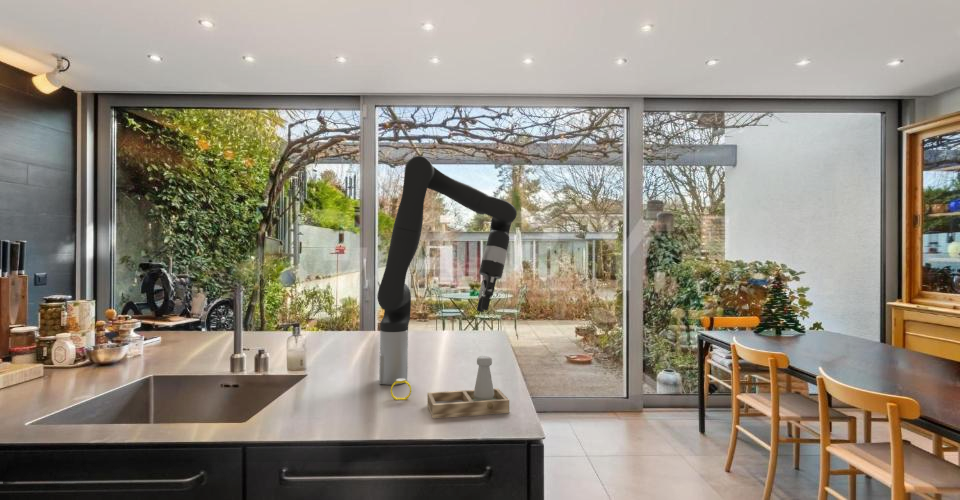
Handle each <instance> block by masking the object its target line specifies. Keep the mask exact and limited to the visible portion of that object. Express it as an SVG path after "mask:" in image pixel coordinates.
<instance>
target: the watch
mask: <svg viewBox="0 0 960 500" xmlns="http://www.w3.org/2000/svg"><path fill="white" fill-rule="evenodd" d="M396 383H403V384H406V385H407V386H408V388H409V393H408V395H407V396H405V397H397V396H395V395H394V393H393V388H394V386H395V384H396ZM390 386H391V387H390V395H391V397H392V398H393V399H394V400H395V401H407V400H408V399H409V398H410V396H411V393H412V385H411V384H410V383H409V381H408V380H407V381H406V379H403V378H400V379H397V380H396V382H394V383H393V385H390Z"/></svg>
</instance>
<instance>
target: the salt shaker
mask: <svg viewBox="0 0 960 500" xmlns="http://www.w3.org/2000/svg"><path fill="white" fill-rule="evenodd" d="M492 364H493V358H492V357H491V356H489V355H481V356H478V357H477V358H476V365H477V366H478V369H477V375H476V379H475V384H474V385H475V386H474V389H473V390H474V397H475V400H476V401H485V400H492V399H493V397H494V389H495V388H494V385H493V379H492V372H491V367H490V366H492Z"/></svg>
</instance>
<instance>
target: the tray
mask: <svg viewBox="0 0 960 500" xmlns="http://www.w3.org/2000/svg"><path fill="white" fill-rule="evenodd" d="M493 389H494V397H493V399H492V400H485V401H476V400H475V397H474V389H468V390H467V389H465V390H450V391H448V390H447V391H446V390H445V391H433V392H432V391H431V392H430V391H429V392H427V401H426V402H427V404H426V405H427V408H428V410H429V412H430V415H431V418H432V419H442V418H443V419H444V418H457V417H458V418H461V417H470V416H471V417H472V416H486V415H499V414H509V413H510V399H509V397H507V395H505V394H504V392H502V390H501V389H499V388H498V387H497V388H496V387H495V388H493Z"/></svg>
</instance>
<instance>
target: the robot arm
mask: <svg viewBox="0 0 960 500" xmlns="http://www.w3.org/2000/svg"><path fill="white" fill-rule="evenodd" d="M402 185H403V187H402V195H401V199H400V203H399V205H398V209H397V212H396V216H395V219H394V224H393V227H392V233H391V238H390V243H389V247H388V253H387V259H386V265H385V268H384V272H383V275H382V277H381V281H380V284H379V288H378V291H377V296H376V297H377V298H376V299H377V303H378V305H379V306H380V308H381V309H383V310H384V312H383V313H384V314H383V317H382V319H381V321H380V323H379V358H378V359H379V361H378V362H379V363H378V365H379V367H378V374H379V376H378V379H379V385H388V386H392V385H393V383H394V382H396V380H397V379H400V378H403V379H406V381H407V382H408V376H409V375H408V374H409V373H408V368H409V366H408V365H409V363H408V362H409V360H408V359H409V323H410V321H411V320H410V319H411V312H412V311H411V307H412V295H411V289H410V287H409V286H408V285H407V284H406V279H407V278H406V277H407V273H408V269H409V267H410V265H411V263H412V261H413V259H414V257H415V255H416V252H417V250H418V247H419V243H420V241H421V240H420V239H421V235H422V229H423V222H424V207H425V206H424V204H425V199H426V195H427V191H428V189H429V190H431V191H435V192H437V193H439V194H441V195H443V196H446V197H447V198H449V199H451V200H453V201H454V202H456V203H458V204H459V205H461V206H463V207H464V208H466V209H468V210H470V211H472V212H475V213H476V214H479V215H487V216H488V217H489V216H490V217H491V221H490V227H489V234H488V237H487V241H486V242H487V243H486V245H485V249H484V251H483V255H482V259H481V263H480V268H479V271H478V272H479V273H478V274H480V275H481V276H483V277H484V278H483V280H481V283H480V289H479V293H478V303H477V306H476V311H477V312H479V313H483V312H484V311H488V309H489V306H490V303H491V302H490V301H491V299H492V298H493V296H494V292H495V288H496V287H495V286H496V282H497V280H500V279H502V278H503V273H504V269H505V265H506V260H507V252H508V248H509V244H510V231H511V226H512V223H513V222H514V221H515V220H516V218H517V214H518V213H517V209H516V207H515V206H514V205H513V204H512V203H510V202H509V201H507V200H504V199H501V198H498V197H495V196H491V195H488V194H487V193H485V192H483V191H481V190H480V189H478V188H475V187H473V186H471V185H469V184H466V183H463V182H461V181H459V180H456V179H454V178H452V177H450V176H448V175H447V174H445V173H443V172H442V171H440V170H439V169H437V168H436V167H435V166H434V165H433V164H432V162H431V160H430V159H428V158H426V157H425V156H422V155H415V156H413V157H411V158H410V159H409V160H408V161H407V162H406V164H405V168H404V178H403V184H402ZM403 384H404V383H396V384H395V385H403ZM395 385H394V386H395Z"/></svg>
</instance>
